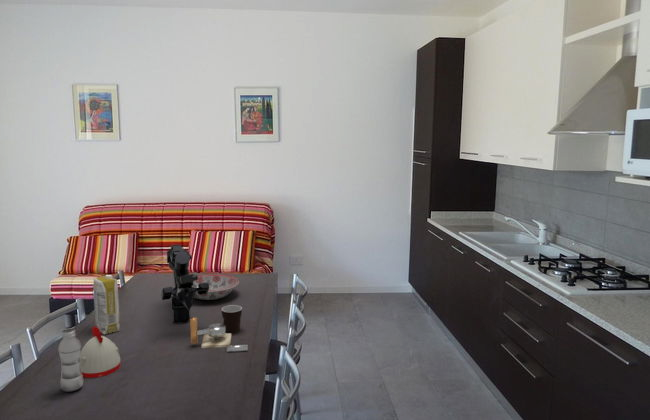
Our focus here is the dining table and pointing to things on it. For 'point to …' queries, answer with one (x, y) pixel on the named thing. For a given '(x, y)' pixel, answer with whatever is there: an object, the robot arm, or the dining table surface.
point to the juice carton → (106, 304)
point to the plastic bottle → (70, 361)
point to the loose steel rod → (237, 348)
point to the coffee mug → (232, 318)
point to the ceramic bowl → (216, 286)
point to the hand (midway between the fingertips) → (189, 309)
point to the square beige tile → (216, 341)
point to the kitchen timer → (99, 356)
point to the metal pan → (206, 330)
